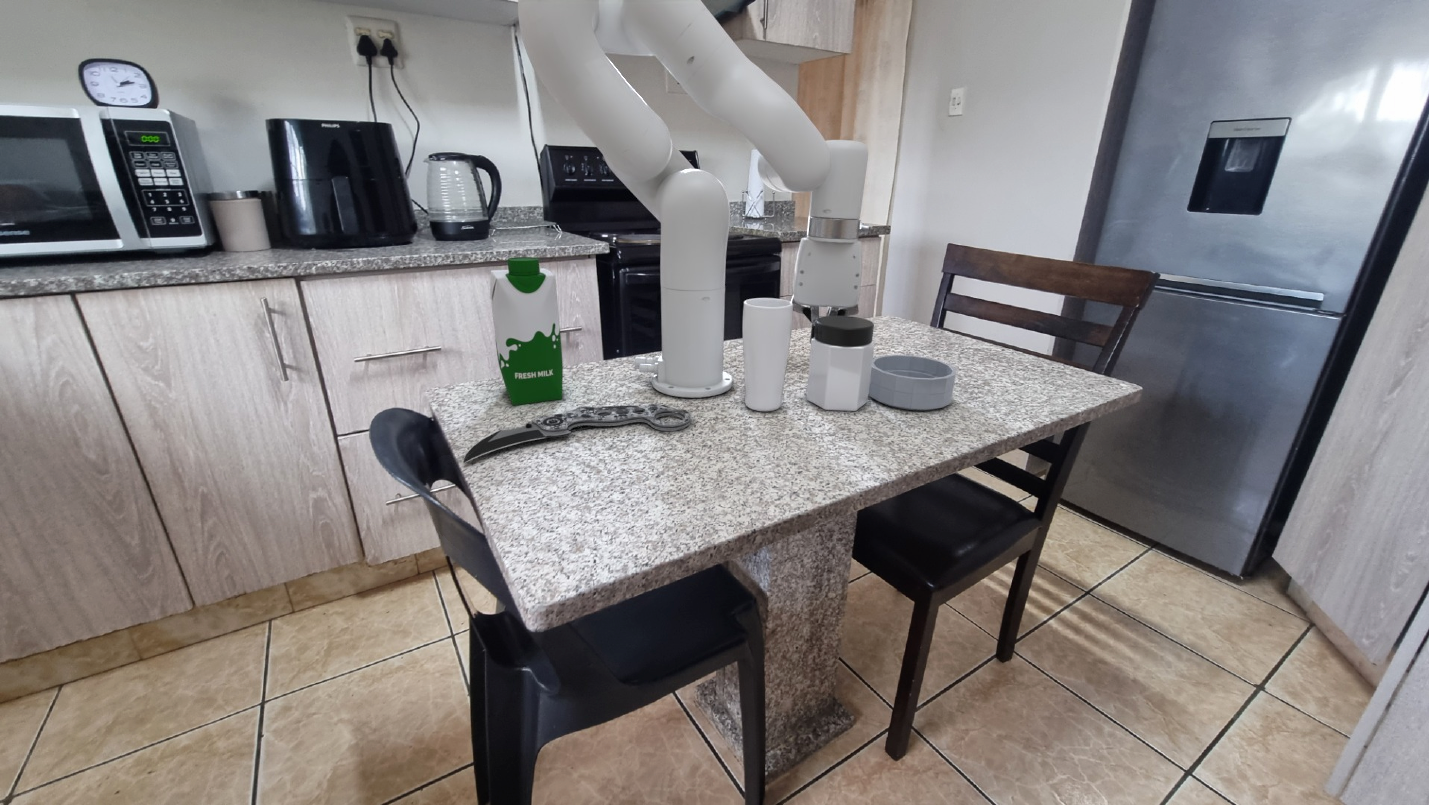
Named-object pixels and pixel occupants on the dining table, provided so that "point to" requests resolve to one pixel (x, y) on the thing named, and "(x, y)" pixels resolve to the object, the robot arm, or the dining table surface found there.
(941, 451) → the dining table surface
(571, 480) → the dining table surface
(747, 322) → the drinking glass
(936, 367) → the bowl
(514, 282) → the milk carton
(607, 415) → the knife
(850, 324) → the jar
